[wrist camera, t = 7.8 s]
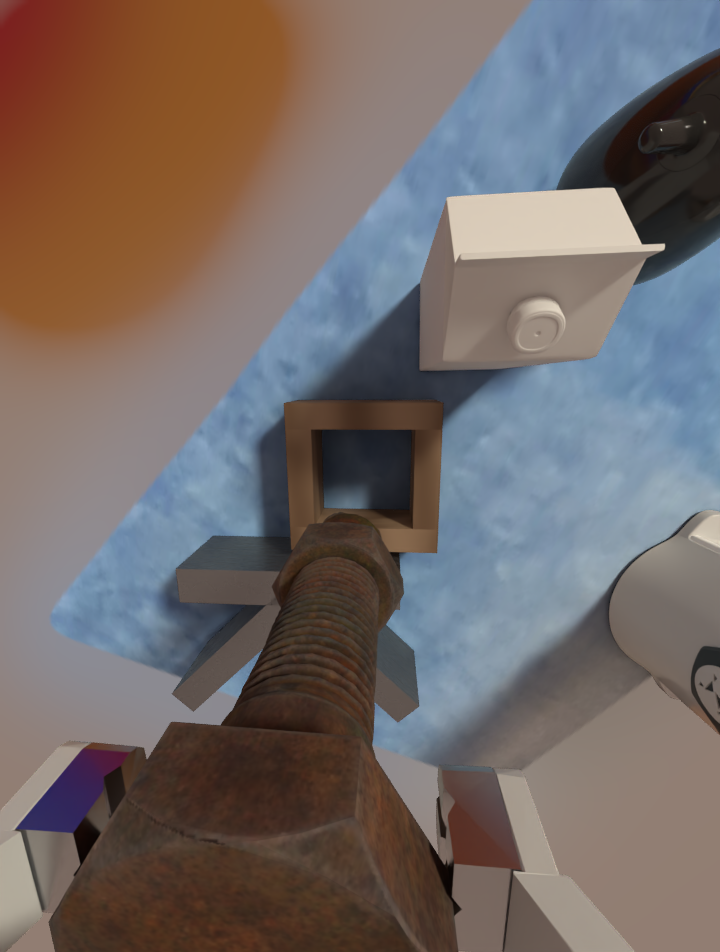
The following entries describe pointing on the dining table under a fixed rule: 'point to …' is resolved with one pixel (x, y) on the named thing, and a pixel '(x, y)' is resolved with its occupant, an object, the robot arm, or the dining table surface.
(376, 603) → the bolt
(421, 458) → the bore block
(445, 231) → the milk carton
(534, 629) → the dining table surface
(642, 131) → the black egg shape
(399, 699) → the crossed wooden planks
